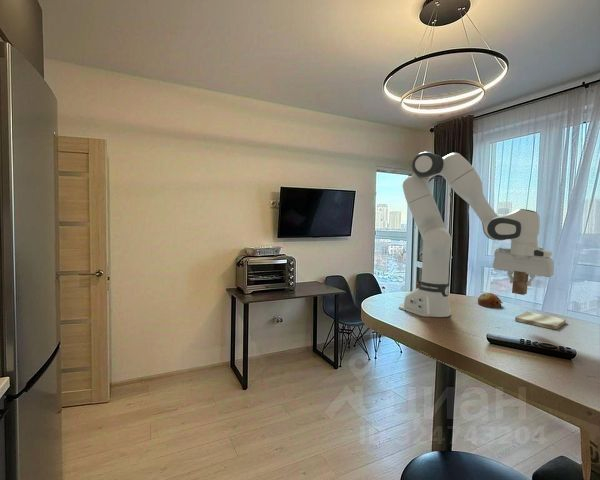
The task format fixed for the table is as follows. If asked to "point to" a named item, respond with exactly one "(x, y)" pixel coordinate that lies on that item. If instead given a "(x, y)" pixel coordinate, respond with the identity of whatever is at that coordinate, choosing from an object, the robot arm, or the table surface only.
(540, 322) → the board
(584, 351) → the table surface
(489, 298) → the bread roll
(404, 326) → the table surface
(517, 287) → the walnut block
